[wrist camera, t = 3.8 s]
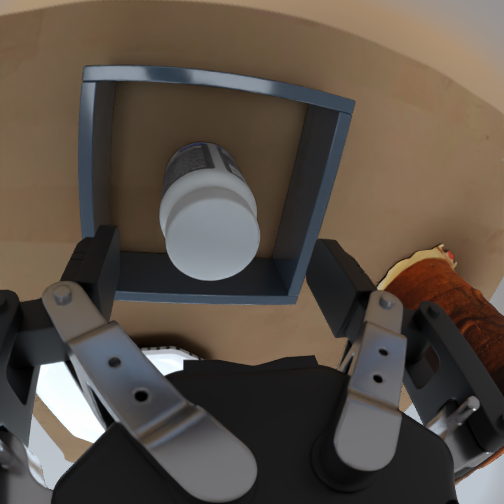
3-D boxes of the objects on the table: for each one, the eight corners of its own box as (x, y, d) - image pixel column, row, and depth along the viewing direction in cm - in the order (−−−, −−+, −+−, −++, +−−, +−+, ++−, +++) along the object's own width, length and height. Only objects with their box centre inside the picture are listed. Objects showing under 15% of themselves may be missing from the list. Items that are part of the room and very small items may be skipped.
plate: (209, 328, 27) (212, 347, 26) (221, 427, 39) (224, 441, 37) (11, 337, 24) (5, 354, 22) (82, 431, 35) (81, 444, 33)
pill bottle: (160, 204, 20) (151, 283, 13) (171, 135, 18) (161, 181, 11) (229, 213, 22) (253, 292, 15) (245, 147, 19) (283, 199, 13)
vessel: (476, 268, 32) (574, 382, 15) (404, 349, 37) (475, 471, 21) (427, 216, 25) (581, 377, 9) (334, 328, 31) (420, 506, 14)
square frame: (102, 259, 22) (90, 299, 18) (105, 65, 15) (83, 65, 11) (278, 267, 25) (295, 305, 21) (322, 92, 18) (356, 100, 14)
